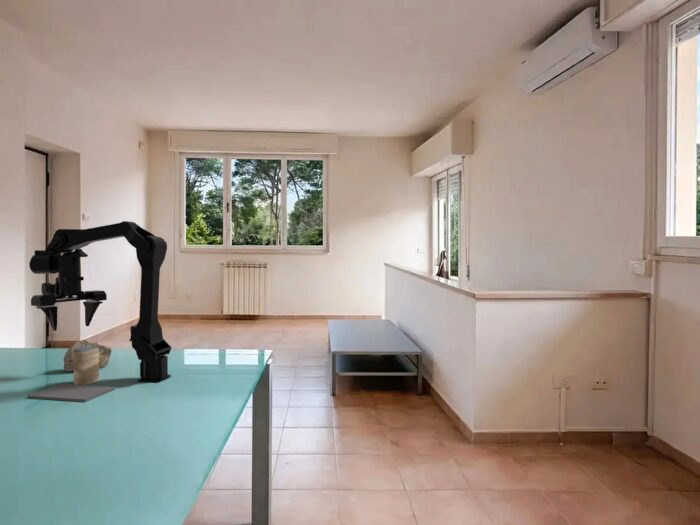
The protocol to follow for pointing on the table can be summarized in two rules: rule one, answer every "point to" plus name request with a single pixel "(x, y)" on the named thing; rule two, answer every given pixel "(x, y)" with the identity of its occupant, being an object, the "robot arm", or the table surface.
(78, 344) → the rock
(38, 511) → the table surface
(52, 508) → the table surface
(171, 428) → the table surface
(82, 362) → the wooden block
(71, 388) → the mat
